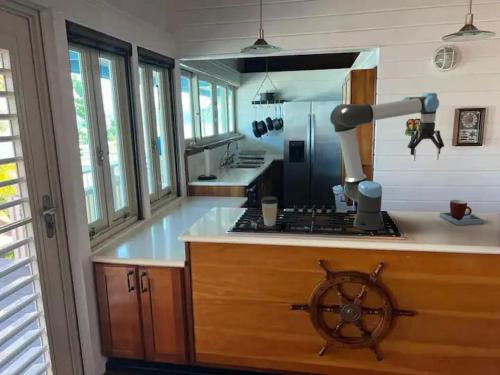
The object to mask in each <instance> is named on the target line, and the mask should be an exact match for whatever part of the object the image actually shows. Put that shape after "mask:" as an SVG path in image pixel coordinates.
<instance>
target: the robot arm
mask: <svg viewBox="0 0 500 375" xmlns="http://www.w3.org/2000/svg"><path fill="white" fill-rule="evenodd" d="M439 106H440V101H439V99H438V94H437V93H436V92H423V93H422V95H421V96H407V97H405V96H404V97H403V98H401V100H396V101H390V102H384V103H378V104H377V103H376V104H373V105H372V104H370V103H364V104H358V103H357V104H354V103H353V104H352V103H348V104H345V103H340V104H337V105H335V106H334V107H332V109H331V110H330V112H329V114H328V116H329V121H330V123H331V125H333V128H334V132H335V133H336V134H337V135H338V137H339V144H340V148H341V154H342V159H343V163H344V168H345V172H346V178H345V179H344V182H345V183H344V186H343V191H344V194H345V195H346V196H347V197H348V199H350V200H352V201H354V202H356V203H357V213H356V214H355V218H354V220H353V227H354V228H355V227H356V229H357V228H358V229H357V230H360V229H362V230H361V231H365V230H378V229H382V228H383V227H384V226H385V223H384V219H383V216H382V200H383V199H382V197H383V196H382V195H383V187H382V185H381V184H380V183H378V182H376V181H373V180H368V178H367V177H368V176H367V175H366V174H365V173H363V172H364V170H363V165H362V161H361V156H360V151H359V146H358V140H357V135H356V131H357V128H358V127H360V126H363V125H367V124H368V125H369V124H371V123H373V121H379V120H385V119H392V118H396V117H401V116H408V115H413V114H414V115H415V114H420V119H419V120H420V123H419V131H418V130H414V131H413V135H412V137H411V139H410V140H409V143H408V144H407V148H408V149H410V155H411V161H412V162H415V161H416V153H417V149H416V148H417V146H419V144H420V143H421V142H422V141H423V140H430V141H431V142H432V143H433V145H434V146H435V148H434V156H433V157H434V158H433V159H434V161H435V160H436V161H438V160H439V158H440V157H439V156H440V155H441V150H442V148H444V147H445V144H444V141H443V138H442V135H441V130H438V129H436V128H435V127H436V119H437V118H436V116H437V110H438V108H439ZM435 129H436V130H435ZM384 228H385V227H384ZM384 228H383V229H384ZM383 229H382V230H383ZM378 231H379V230H378Z"/></svg>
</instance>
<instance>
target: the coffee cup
mask: <svg viewBox="0 0 500 375" xmlns="http://www.w3.org/2000/svg"><path fill="white" fill-rule="evenodd" d="M260 203H261V207H262V209H261V210H262V217H263V222H264V226H265V225H266V226H265V227H274V226H276V219H277V212H278V211H277V210H278V203H279V200H278V199H277V197H275V196H263V197H261V200H260ZM273 225H274V226H273Z"/></svg>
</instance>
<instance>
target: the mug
mask: <svg viewBox="0 0 500 375" xmlns="http://www.w3.org/2000/svg"><path fill="white" fill-rule="evenodd" d="M466 209H469V210H470V212H469V214H465V211H466ZM472 211H473V210H472V208H471V207H470V206H468V202H467V201H466V200H462V199H452V200H450V202H449V212H451V216H452V218H454V219H456V220H461V219H462V218H463V217H464V216H468V215H470V214H472Z"/></svg>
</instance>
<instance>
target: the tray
mask: <svg viewBox="0 0 500 375" xmlns="http://www.w3.org/2000/svg"><path fill="white" fill-rule="evenodd" d="M465 214H469V213H467V212H465ZM439 218H441V219H443V220H445V221H447V222H449V223H451V224H453V225H455V226H469V225H471V226H473V225H474V226H475V225H484V220H485V219H484V218H481V217H478V216H476V215H474V214H472V213H471V214H470V215H468V216H464V217H463V218H462V219H461V220H456V219H454V218H452V216H451V212H450V211H449V212H448V211H447V212H439Z"/></svg>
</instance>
